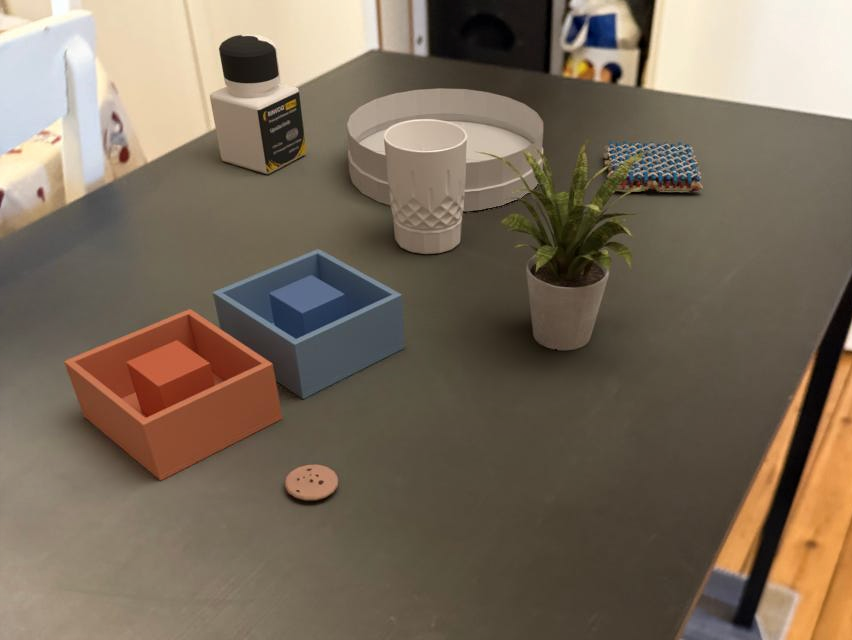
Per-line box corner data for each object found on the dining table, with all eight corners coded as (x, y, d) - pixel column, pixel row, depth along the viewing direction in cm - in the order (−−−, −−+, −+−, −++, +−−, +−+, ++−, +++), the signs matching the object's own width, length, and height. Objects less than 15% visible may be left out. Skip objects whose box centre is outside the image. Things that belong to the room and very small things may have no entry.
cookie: (302, 511, 66) (300, 500, 65) (275, 481, 68) (273, 470, 67) (349, 490, 67) (347, 480, 67) (321, 462, 69) (320, 452, 69)
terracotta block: (141, 412, 73) (125, 361, 69) (189, 389, 75) (176, 339, 72) (172, 436, 71) (158, 386, 67) (221, 412, 73) (209, 362, 69)
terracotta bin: (83, 416, 73) (63, 360, 69) (203, 362, 78) (190, 308, 75) (160, 481, 68) (142, 424, 64) (282, 418, 73) (273, 363, 70)
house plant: (456, 372, 78) (454, 172, 66) (479, 291, 87) (481, 102, 75) (624, 388, 77) (655, 187, 64) (630, 304, 86) (658, 114, 74)
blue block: (276, 341, 80) (268, 292, 76) (317, 322, 82) (311, 274, 79) (308, 362, 78) (301, 313, 74) (350, 342, 80) (344, 293, 77)
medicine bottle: (268, 176, 104) (249, 55, 94) (220, 161, 106) (197, 42, 97) (308, 154, 108) (294, 36, 99) (261, 141, 110) (243, 25, 101)
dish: (527, 222, 97) (530, 173, 93) (325, 203, 99) (319, 154, 95) (554, 141, 111) (557, 95, 107) (376, 126, 113) (373, 81, 110)
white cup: (378, 250, 92) (370, 144, 85) (405, 217, 97) (400, 114, 90) (452, 263, 91) (451, 156, 83) (476, 228, 96) (477, 124, 88)
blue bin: (223, 346, 80) (212, 292, 76) (324, 301, 86) (318, 248, 82) (303, 399, 75) (294, 344, 71) (405, 348, 80) (402, 294, 77)
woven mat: (690, 158, 108) (693, 139, 107) (702, 197, 101) (706, 178, 100) (601, 156, 108) (603, 137, 107) (608, 195, 101) (610, 176, 100)
